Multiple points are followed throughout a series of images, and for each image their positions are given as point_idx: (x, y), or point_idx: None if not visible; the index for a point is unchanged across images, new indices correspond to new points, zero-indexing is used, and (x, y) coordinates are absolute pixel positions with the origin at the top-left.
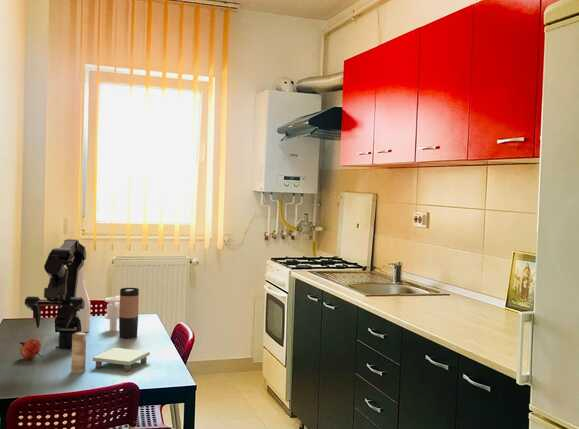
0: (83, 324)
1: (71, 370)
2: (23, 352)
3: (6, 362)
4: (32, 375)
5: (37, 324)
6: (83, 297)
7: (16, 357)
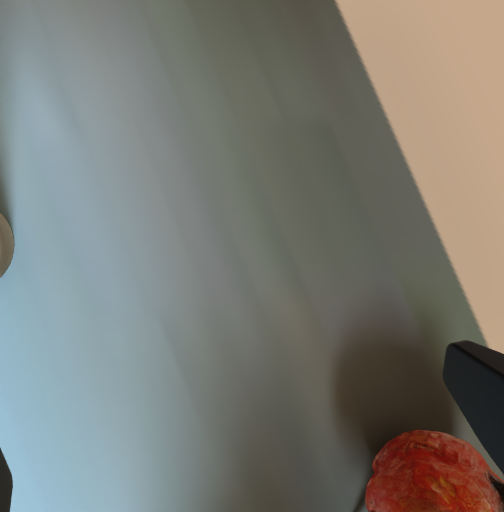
0: None
1: (2, 219)
2: (453, 438)
3: None
4: (238, 127)
5: (486, 356)
6: None
7: None
